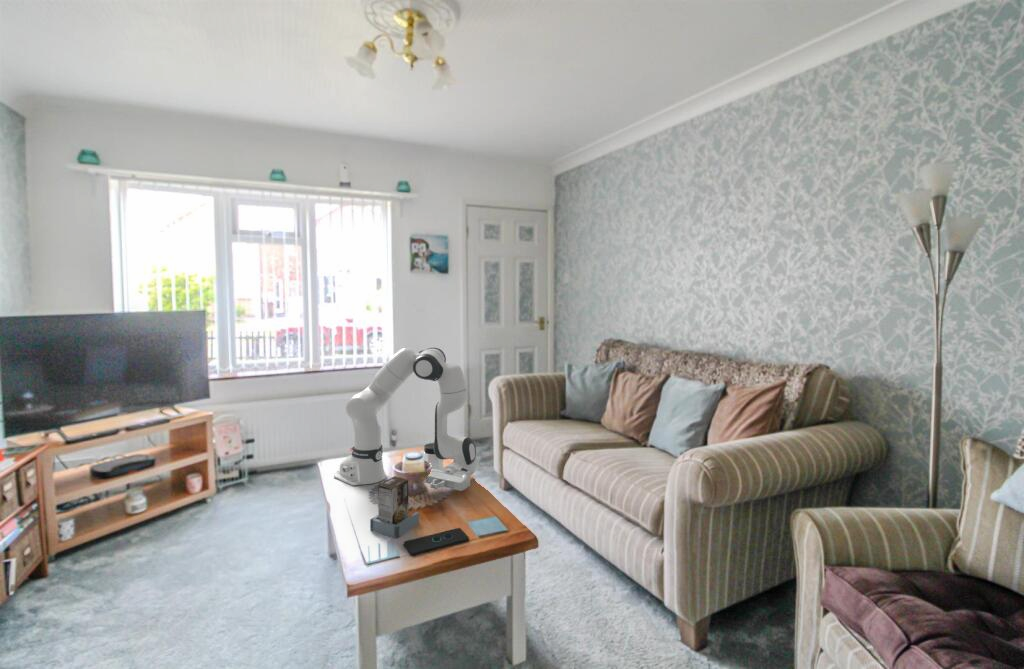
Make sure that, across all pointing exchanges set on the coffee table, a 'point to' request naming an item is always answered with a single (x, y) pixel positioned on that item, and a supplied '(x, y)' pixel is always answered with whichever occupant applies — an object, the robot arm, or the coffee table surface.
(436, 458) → the jar
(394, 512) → the coffee box
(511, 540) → the coffee table surface
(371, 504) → the coffee table surface
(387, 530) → the grey u-shaped channel
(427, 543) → the smart home device
